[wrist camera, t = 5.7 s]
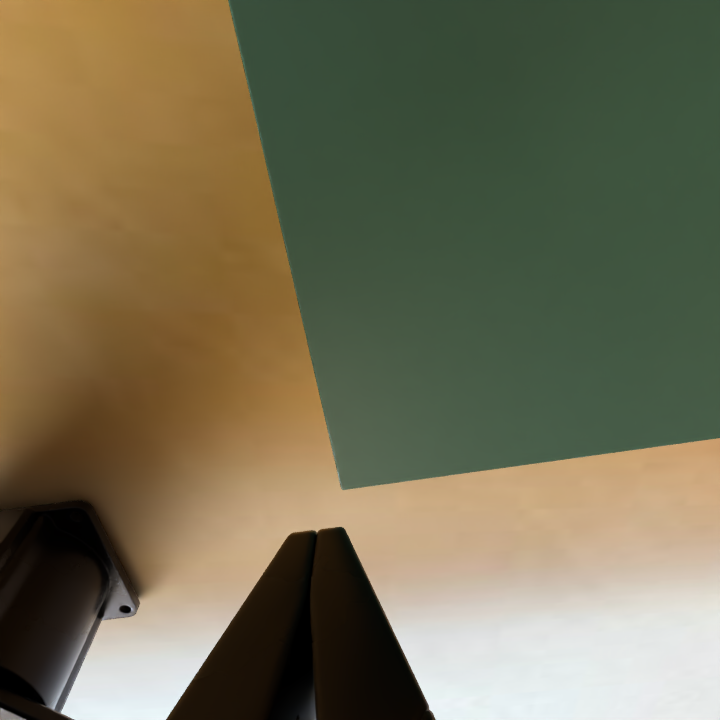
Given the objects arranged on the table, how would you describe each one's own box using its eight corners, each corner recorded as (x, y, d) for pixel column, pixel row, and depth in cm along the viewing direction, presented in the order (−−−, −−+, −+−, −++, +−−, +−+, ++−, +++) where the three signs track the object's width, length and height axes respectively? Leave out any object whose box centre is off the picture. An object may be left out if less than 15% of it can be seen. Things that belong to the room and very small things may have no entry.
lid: (750, 415, 16) (768, 432, 15) (341, 472, 17) (341, 491, 16) (885, -314, 9) (929, -344, 9) (196, -166, 10) (185, -182, 9)
